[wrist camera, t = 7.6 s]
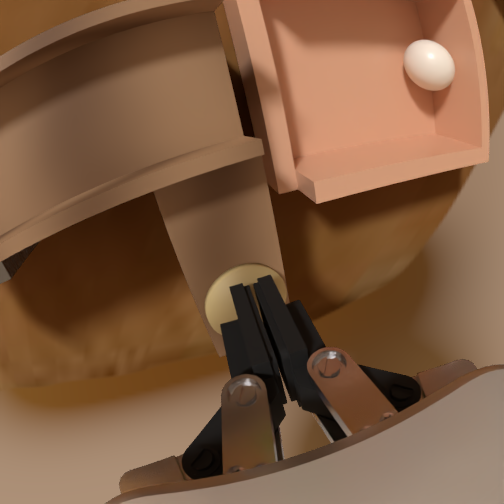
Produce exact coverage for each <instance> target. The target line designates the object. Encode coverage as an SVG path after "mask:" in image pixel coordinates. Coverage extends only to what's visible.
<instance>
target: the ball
mask: <svg viewBox="0 0 504 504" xmlns="http://www.w3.org/2000/svg"><path fill="white" fill-rule="evenodd" d="M403 62H404V68H405V70H406V73H407V74H408V76H409V77H410V79H411V80H412V81H413V82H414V83H415V84H417V85H418V86H420V87H421V88H424V89H426V90H431V91H438V90H442V89H444V88H446V87H448V86H449V85H450V84H451V82H452V81H453V79H454V76H455V65H454V61H453V59H452V57H451V55H450V54H449V52H448V51H447V50H446V49H445V48H444V47H443V46H441V45H440V44H438V43H436V42H434V41H431V40H418V41H415V42H413V43H411V44H410V45H409V46H408V47H407V49H406V51H405V53H404V58H403Z"/></svg>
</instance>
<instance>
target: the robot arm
mask: <svg viewBox="0 0 504 504" xmlns="http://www.w3.org/2000/svg"><path fill="white" fill-rule="evenodd" d="M257 281H258V282H257V283H253V286H254V290H255V294H256V298H257V302H258V305H259V309H260V313H261V316H260V314H259V311H258V308H257V306H256V303H255V300H254V297H253V295H252V292H251V289H250V287H249V285H247V286H243V283H240V284H237V285H234V286H230V287H229V288H230V292H231V295H232V299H233V303H234V306H235V310H236V314H237V317H238V319H236V320H233V321H230V322H226V323H223V324H220V327H221V332H222V337H223V342H224V347H225V351H226V356H227V360H228V365H229V369H230V374H231V379H230V380H229V381H228V382H227V383H226V384H225V386H224V388H223V389H222V394H221V407H220V409H219V410H218V411H217V412H216V414H215V415H214V416H213V417H212V419H211V420H210V421H209V422H208V424H207V425H206V426H205V427H204V429H203V430H202V431H201V433H200V434H199V435H198V436H197V437H196V439H195V440H194V441H193V442H192V444H191V445H190V446H189V447H188V448H187V449H186V451H185V453H184V454H183V455H180V456H177V457H175V456H171V457H169V458H166V459H163V460H161V461H157V462H154V463H151V464H148V465H146V466H142V467H139V468H136V469H133V470H130V471H128V472H126V473H124V475H123V476H122V477H121V479H120V482H119V486H120V491H121V494H120V495H118V496H116V497H114V498H112V499H111V500H109V501H108V502H106V503H105V504H504V365H491V366H486V367H483V368H480V369H477V368H476V366H475V365H474V363H472V362H471V361H469V360H465V359H460V360H456V361H453V362H450V363H448V364H445V365H442V366H439V367H436V368H433V369H430V370H426V371H423V372H420V373H417V375H416V376H414V377H409V376H406V375H401V374H397V373H393V372H388V371H384V370H379V369H375V368H371V367H366V366H362V365H358V364H356V363H355V362H354V360H353V359H352V358H351V357H350V356H349V355H348V354H347V353H346V352H345V351H344V350H342V349H340V348H336V347H326V346H325V344H324V343H323V341H322V339H321V337H320V335H319V334H318V332H317V330H316V328H315V327H314V325H313V323H312V321H311V319H310V318H309V316H308V314H307V312H306V310H305V309H304V307H303V305H302V303H301V302H300V301H299V300H297V301H294V302H291V303H288V304H285V302H284V300H283V298H282V296H281V294H280V292H279V290H278V288H277V286H276V284H275V282H274V280H273V278H272V276H271V275H267V276H264V277H260V278H257ZM261 317H262V319H261ZM262 321H263V322H262ZM278 367H279V368H278ZM279 370H280V372H279ZM280 373H281V375H282V378H283V381H284V383H285V386H286V389H287V391H288V394H289V396H290V399H291V401H295V400H297V402H298V405H299V407H301V406H302V409H303V410H306V411H309V412H312V413H313V416H314V417H315V419H316V420H317V422H318V424H319V425H320V426H321V428H322V430H323V431H324V433H325V434H326V436H327V437H328V439H329V440H330V442H331V444H328V445H326V446H323V447H320V448H317V449H315V450H312V451H309V452H306V453H303V454H300V455H297V456H294V457H291V458H288V459H284V453H283V446H282V439H281V432H280V427H279V425H280V423H281V422H282V420H283V419H284V417H285V416H286V414H285V411H284V407H283V404H286V403H287V400H286V396H285V392H284V388H283V384H282V380H281V376H280Z"/></svg>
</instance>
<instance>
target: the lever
mask: <svg viewBox="0 0 504 504" xmlns="http://www.w3.org/2000/svg"><path fill="white" fill-rule="evenodd" d="M223 1H224V0H127V1H123V2H120V3H117V4H113V5H110V6H107V7H104V8H101V9H98V10H95V11H93V12H90V13H87V14H84V15H82V16H79V17H77V18H74V19H72V20H69V21H67V22H65V23H62V24H60V25H58V26H56V27H53V28H51V29H49V30H47V31H45V32H43V33H41V34H39V35H37V36H35V37H33V38H31V39H29V40H27V41H26V42H24V43H22V44H20V45H18V46H17V47H15V48H13V49H12V50H10V51H8V52H7V53H5V54H3V55H2V56H0V262H1V261H3V260H4V259H6V258H8V257H10V256H12V255H14V254H15V253H17V252H19V251H21V250H23V249H25V248H27V247H29V246H31V245H32V244H34V243H36V242H38V241H40V240H42V239H44V238H46V237H48V236H50V235H52V234H55V233H57V232H59V231H61V230H63V229H65V228H67V227H69V226H71V225H74V224H76V223H78V222H80V221H82V220H85V219H87V218H89V217H91V216H94V215H96V214H98V213H100V212H103V211H105V210H107V209H110V208H112V207H115V206H117V205H119V204H122V203H124V202H127V201H129V200H132V199H134V198H137V197H139V196H142V195H145V194H147V193H150V192H152V191H153V192H154V195H155V198H156V201H157V203H158V206H159V209H160V212H161V215H162V218H163V220H164V223H165V226H166V229H167V231H168V234H169V237H170V240H171V242H172V245H173V247H174V250H175V253H176V255H177V258H178V261H179V263H180V266H181V268H182V271H183V273H184V276H185V278H186V281H187V283H188V286H189V288H190V291H191V293H192V295H193V298H194V300H195V303H196V305H197V307H198V310H199V312H200V314H201V317H202V319H203V321H204V324H205V326H206V328H207V330H208V333H209V335H210V337H211V339H212V342H213V344H214V346H215V348H216V350H217V353H218V355H219V357H221V356H224V355H226V351H225V347H224V342H223V337H222V332H221V327H220V324H223V323H226V322H230V321H233V320H236V319H238V317H237V314H236V310H235V306H234V303H233V299H232V295H231V292H230V288H229V287H230V286H234V285H237V284H240V283H243V286H247V285H249V287H250V289H251V292H252V295H253V297H254V300H255V303H256V306H257V308H258V311H259V314H260V316H261V313H260V309H259V305H258V302H257V298H256V294H255V290H254V286H253V283H257V282H258V281H257V278H260V277H264V276H267V275H271V276H272V278H273V280H274V282H275V284H276V286H277V288H278V290H279V292H280V294H281V296H282V298H283V300H284V302H285V304H288V303H290V302H289V296H288V291H287V285H286V279H285V274H284V268H283V263H282V257H281V252H280V246H279V241H278V236H277V230H276V225H275V220H274V215H273V209H272V204H271V199H270V194H269V189H268V184H267V179H266V174H265V169H264V164H263V160H262V155H265V154H264V149H263V144H262V139H259V138H253V137H247V136H244V135H243V130H242V126H241V122H240V117H239V113H238V108H237V104H236V100H235V96H234V91H233V87H232V83H231V78H230V74H229V70H228V66H227V62H226V57H225V53H224V49H223V45H222V41H221V37H220V33H219V29H218V25H217V21H216V17H215V13H214V11H215V9H216V8H217V7H218V6H219V5H220V4H221V3H222V2H223ZM261 319H262V317H261ZM262 322H263V321H262Z"/></svg>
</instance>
